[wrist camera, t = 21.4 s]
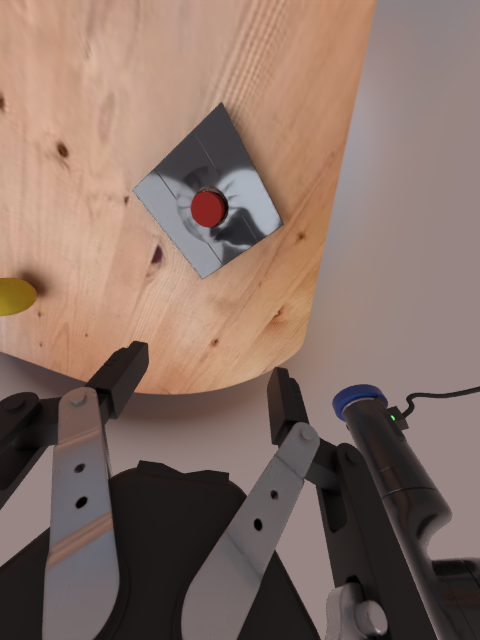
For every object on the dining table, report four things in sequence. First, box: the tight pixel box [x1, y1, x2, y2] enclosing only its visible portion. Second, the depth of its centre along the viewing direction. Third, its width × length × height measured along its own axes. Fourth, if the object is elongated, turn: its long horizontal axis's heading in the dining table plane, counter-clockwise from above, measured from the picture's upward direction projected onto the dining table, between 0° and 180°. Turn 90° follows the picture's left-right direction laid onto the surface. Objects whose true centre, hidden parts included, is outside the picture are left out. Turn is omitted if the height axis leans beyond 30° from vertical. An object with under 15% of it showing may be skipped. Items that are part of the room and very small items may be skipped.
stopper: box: [191, 192, 226, 227], centre depth 26 cm, size 4×4×6 cm
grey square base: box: [132, 102, 284, 279], centre depth 27 cm, size 14×14×2 cm
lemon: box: [0, 278, 37, 316], centre depth 32 cm, size 6×6×8 cm
